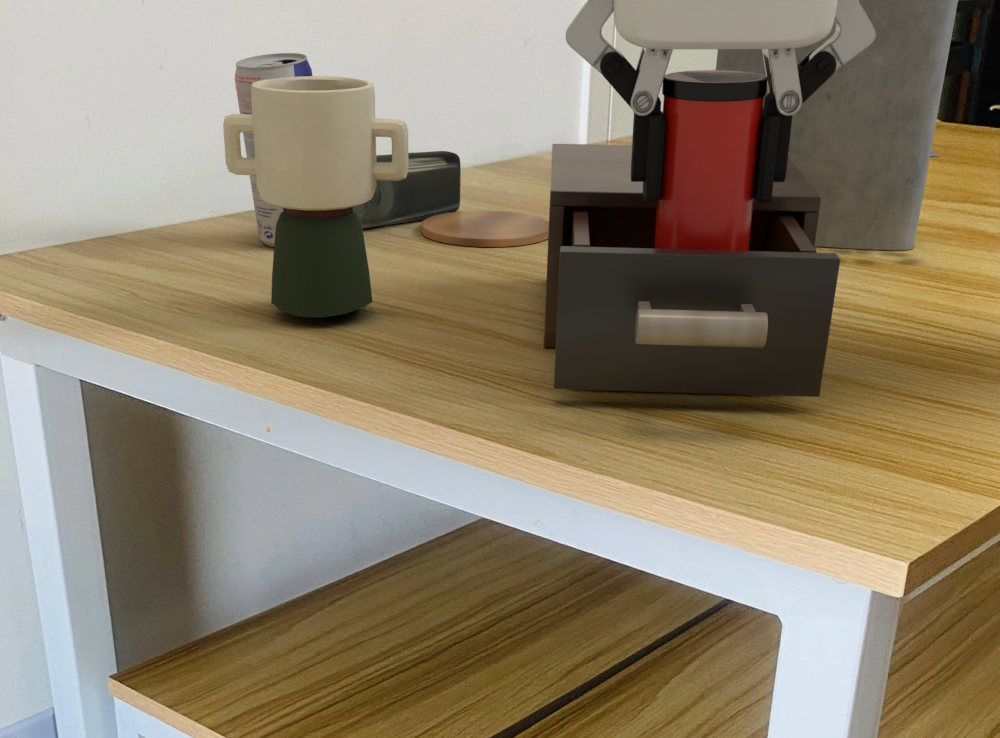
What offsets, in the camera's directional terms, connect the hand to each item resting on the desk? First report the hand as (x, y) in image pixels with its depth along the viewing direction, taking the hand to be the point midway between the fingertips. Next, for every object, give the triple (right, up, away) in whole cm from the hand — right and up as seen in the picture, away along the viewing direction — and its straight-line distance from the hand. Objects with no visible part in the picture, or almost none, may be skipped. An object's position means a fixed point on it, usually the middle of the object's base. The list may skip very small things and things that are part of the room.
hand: (705, 193), depth 69 cm
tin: (0, -5, +3) cm, 6 cm away
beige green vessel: (-21, -2, +16) cm, 26 cm away
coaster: (-10, +11, +36) cm, 39 cm away
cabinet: (0, -1, +16) cm, 16 cm away
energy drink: (-24, +9, +32) cm, 41 cm away
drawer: (-1, -7, +5) cm, 9 cm away
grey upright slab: (+14, +10, +34) cm, 38 cm away
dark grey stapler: (-18, +12, +38) cm, 44 cm away
